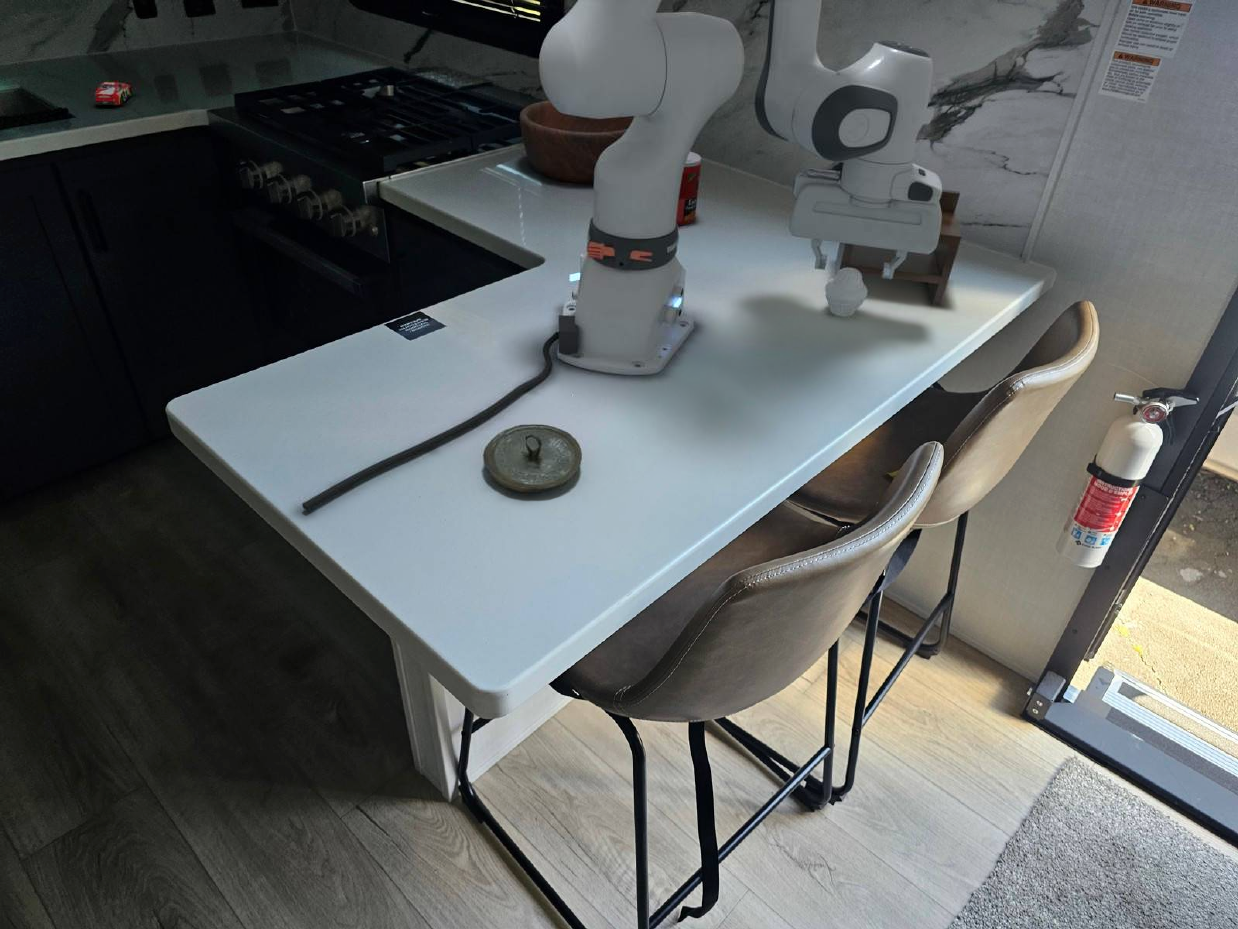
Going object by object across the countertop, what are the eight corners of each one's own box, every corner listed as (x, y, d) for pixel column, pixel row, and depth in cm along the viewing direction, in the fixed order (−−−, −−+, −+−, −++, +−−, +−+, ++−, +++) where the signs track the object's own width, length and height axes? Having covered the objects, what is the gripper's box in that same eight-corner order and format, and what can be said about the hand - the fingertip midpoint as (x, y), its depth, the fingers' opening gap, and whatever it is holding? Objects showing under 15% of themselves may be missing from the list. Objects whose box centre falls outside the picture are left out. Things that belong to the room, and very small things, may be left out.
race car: (111, 93, 198) (106, 74, 195) (136, 93, 199) (131, 75, 196) (93, 108, 187) (87, 89, 185) (119, 108, 188) (114, 89, 186)
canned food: (692, 228, 150) (698, 165, 143) (647, 222, 151) (652, 159, 144) (697, 212, 156) (704, 151, 149) (654, 207, 157) (659, 146, 150)
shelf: (940, 305, 130) (967, 216, 121) (834, 291, 132) (854, 202, 124) (934, 276, 138) (959, 191, 130) (835, 263, 141) (853, 178, 132)
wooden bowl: (601, 198, 159) (603, 142, 153) (495, 169, 169) (493, 115, 163) (665, 165, 176) (670, 113, 170) (566, 141, 186) (567, 91, 180)
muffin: (812, 310, 126) (821, 266, 122) (835, 298, 130) (844, 255, 126) (847, 325, 123) (858, 281, 119) (870, 313, 126) (881, 269, 122)
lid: (561, 445, 98) (555, 405, 96) (600, 475, 90) (594, 432, 88) (475, 472, 94) (467, 431, 92) (507, 505, 86) (499, 461, 84)
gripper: (795, 173, 113) (778, 271, 121) (954, 192, 110) (926, 291, 118) (798, 159, 118) (781, 254, 126) (950, 177, 114) (923, 273, 123)
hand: (852, 272), depth 122 cm, fingers open, 8 cm apart
